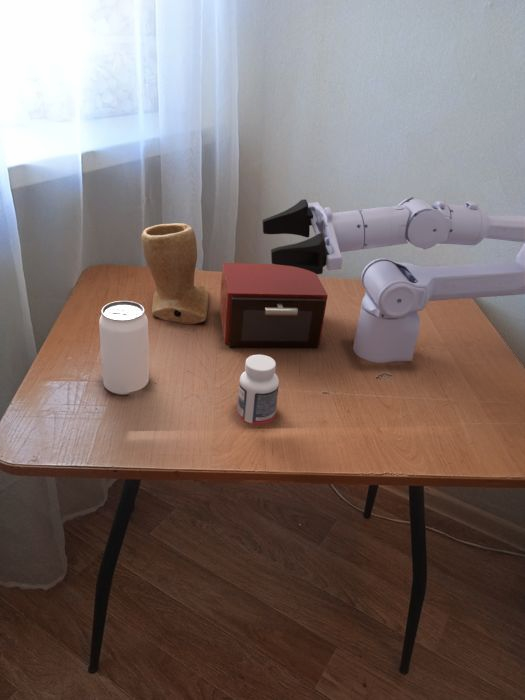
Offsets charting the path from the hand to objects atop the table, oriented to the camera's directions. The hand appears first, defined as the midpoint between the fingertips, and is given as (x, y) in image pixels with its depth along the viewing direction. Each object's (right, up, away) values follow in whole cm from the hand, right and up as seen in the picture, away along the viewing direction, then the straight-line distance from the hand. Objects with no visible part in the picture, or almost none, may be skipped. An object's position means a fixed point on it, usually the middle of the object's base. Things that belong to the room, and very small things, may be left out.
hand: (266, 241), depth 81 cm
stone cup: (-17, -8, +22) cm, 29 cm away
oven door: (+1, -16, +10) cm, 19 cm away
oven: (0, -12, +18) cm, 21 cm away
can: (-20, -21, +1) cm, 29 cm away
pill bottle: (-2, -25, -3) cm, 25 cm away
